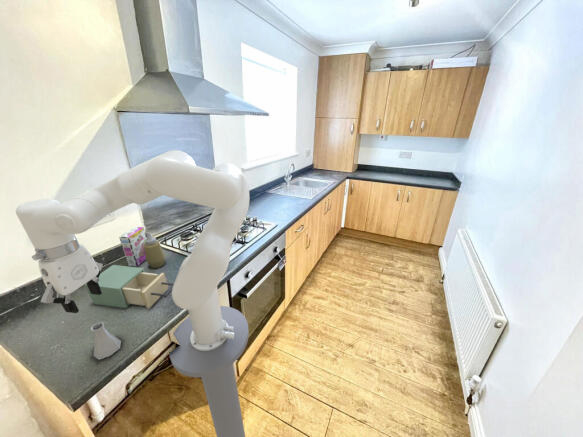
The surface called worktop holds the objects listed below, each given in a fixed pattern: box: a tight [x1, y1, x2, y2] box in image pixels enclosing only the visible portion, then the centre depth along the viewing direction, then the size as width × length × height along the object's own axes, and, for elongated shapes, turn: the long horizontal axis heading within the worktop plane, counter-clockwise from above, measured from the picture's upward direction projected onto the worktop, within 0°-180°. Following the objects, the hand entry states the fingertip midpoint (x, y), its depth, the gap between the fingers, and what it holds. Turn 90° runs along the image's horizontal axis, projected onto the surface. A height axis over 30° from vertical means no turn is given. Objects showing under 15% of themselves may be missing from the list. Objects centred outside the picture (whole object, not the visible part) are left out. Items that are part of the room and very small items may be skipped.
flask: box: [90, 321, 122, 361], centre depth 72 cm, size 7×7×10 cm
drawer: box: [121, 272, 174, 309], centre depth 92 cm, size 20×11×8 cm, turn 81°
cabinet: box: [84, 264, 146, 309], centre depth 94 cm, size 15×13×10 cm
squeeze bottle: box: [144, 231, 166, 269], centre depth 111 cm, size 8×8×18 cm
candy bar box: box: [118, 226, 147, 268], centre depth 115 cm, size 11×5×16 cm, turn 177°
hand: (85, 301), depth 66 cm, fingers open, 6 cm apart
